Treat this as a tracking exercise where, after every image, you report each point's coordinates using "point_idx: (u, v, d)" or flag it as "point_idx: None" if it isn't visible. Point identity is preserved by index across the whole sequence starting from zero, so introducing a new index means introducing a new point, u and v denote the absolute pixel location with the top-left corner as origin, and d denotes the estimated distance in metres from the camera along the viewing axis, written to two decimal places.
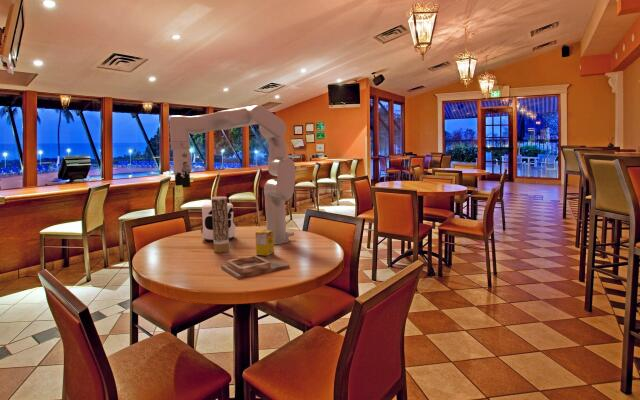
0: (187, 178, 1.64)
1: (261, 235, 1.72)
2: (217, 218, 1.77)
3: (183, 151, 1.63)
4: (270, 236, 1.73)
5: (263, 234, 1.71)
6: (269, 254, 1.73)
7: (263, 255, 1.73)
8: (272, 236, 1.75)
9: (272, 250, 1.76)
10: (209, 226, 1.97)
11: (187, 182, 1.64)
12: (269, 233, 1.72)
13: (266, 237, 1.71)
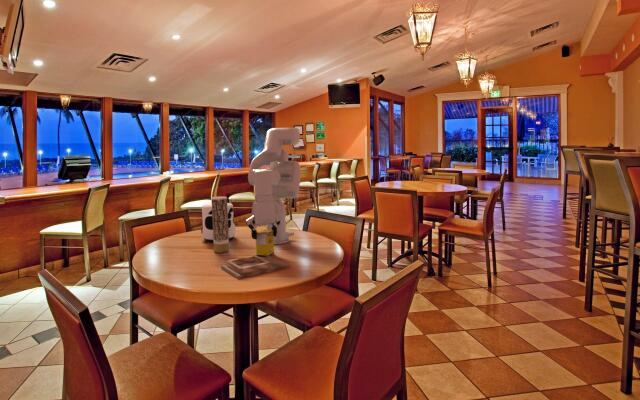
0: None
1: (261, 235, 1.72)
2: (217, 218, 1.77)
3: None
4: (269, 236, 1.73)
5: (263, 234, 1.71)
6: (269, 254, 1.73)
7: (263, 255, 1.73)
8: (272, 236, 1.75)
9: (272, 250, 1.75)
10: (209, 227, 1.97)
11: None
12: (269, 233, 1.72)
13: (266, 237, 1.71)
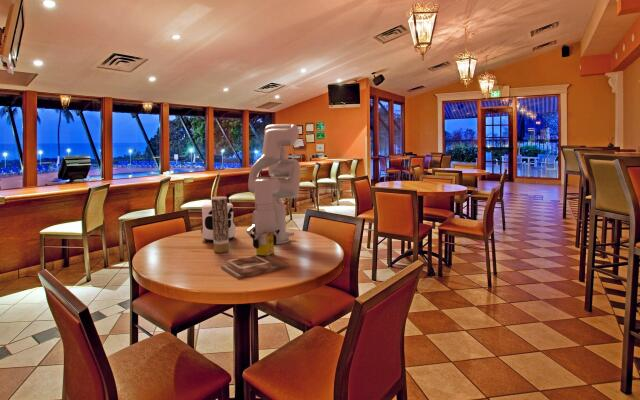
0: None
1: (261, 235, 1.72)
2: (217, 218, 1.77)
3: None
4: (270, 236, 1.73)
5: (263, 234, 1.71)
6: (269, 254, 1.73)
7: (263, 255, 1.72)
8: (272, 236, 1.75)
9: (272, 250, 1.75)
10: (209, 226, 1.97)
11: None
12: (269, 233, 1.72)
13: (266, 237, 1.71)
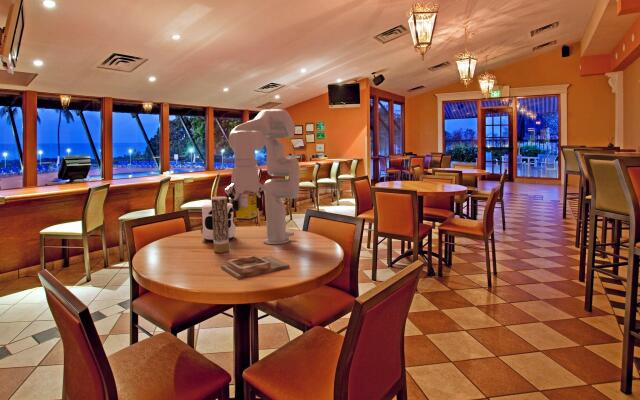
0: None
1: (242, 195, 1.49)
2: (217, 218, 1.77)
3: None
4: (252, 196, 1.50)
5: (244, 194, 1.49)
6: (251, 217, 1.50)
7: (244, 218, 1.50)
8: (255, 197, 1.53)
9: (255, 213, 1.53)
10: (209, 227, 1.97)
11: None
12: (251, 193, 1.50)
13: (247, 197, 1.48)
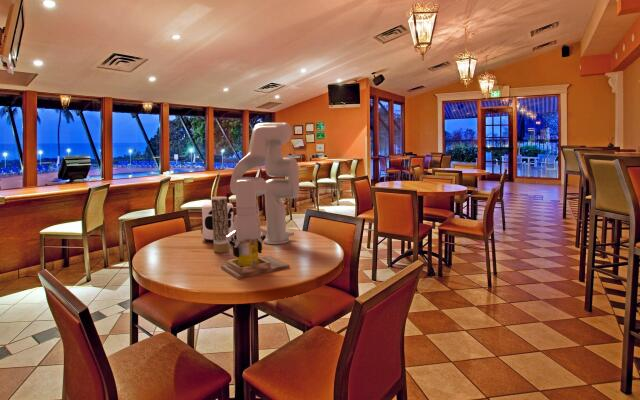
0: None
1: (243, 244, 1.52)
2: (217, 218, 1.77)
3: None
4: (253, 245, 1.53)
5: (245, 243, 1.51)
6: None
7: (245, 266, 1.53)
8: (256, 245, 1.55)
9: (256, 261, 1.56)
10: (209, 227, 1.97)
11: None
12: (252, 242, 1.52)
13: (249, 246, 1.51)
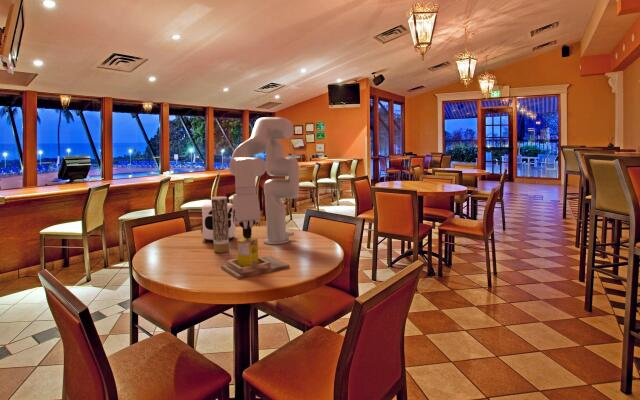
0: None
1: (243, 244, 1.52)
2: (217, 218, 1.77)
3: None
4: (253, 245, 1.53)
5: (245, 243, 1.51)
6: None
7: (245, 266, 1.53)
8: (256, 245, 1.55)
9: (256, 261, 1.56)
10: (209, 227, 1.97)
11: None
12: (252, 242, 1.52)
13: (249, 246, 1.51)
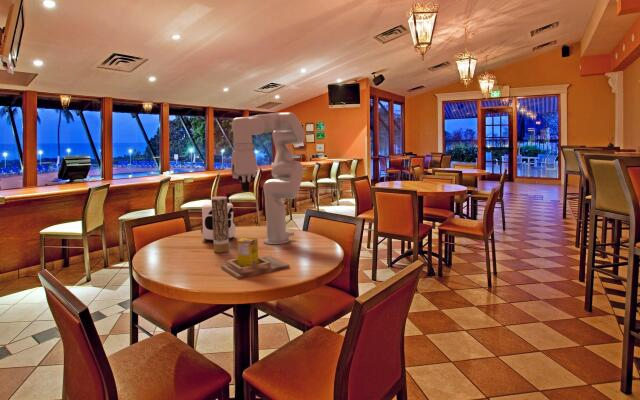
0: None
1: (243, 244, 1.52)
2: (217, 218, 1.77)
3: None
4: (253, 245, 1.53)
5: (245, 243, 1.51)
6: None
7: (245, 266, 1.53)
8: (256, 245, 1.55)
9: (256, 261, 1.56)
10: (209, 227, 1.97)
11: None
12: (252, 242, 1.52)
13: (249, 246, 1.51)
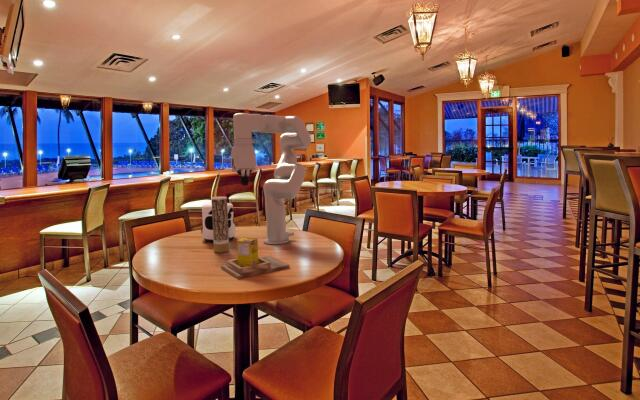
0: None
1: (243, 244, 1.52)
2: (217, 218, 1.77)
3: None
4: (253, 245, 1.53)
5: (245, 243, 1.51)
6: None
7: (245, 266, 1.53)
8: (256, 245, 1.55)
9: (256, 261, 1.56)
10: (209, 227, 1.97)
11: None
12: (252, 242, 1.52)
13: (249, 246, 1.51)
